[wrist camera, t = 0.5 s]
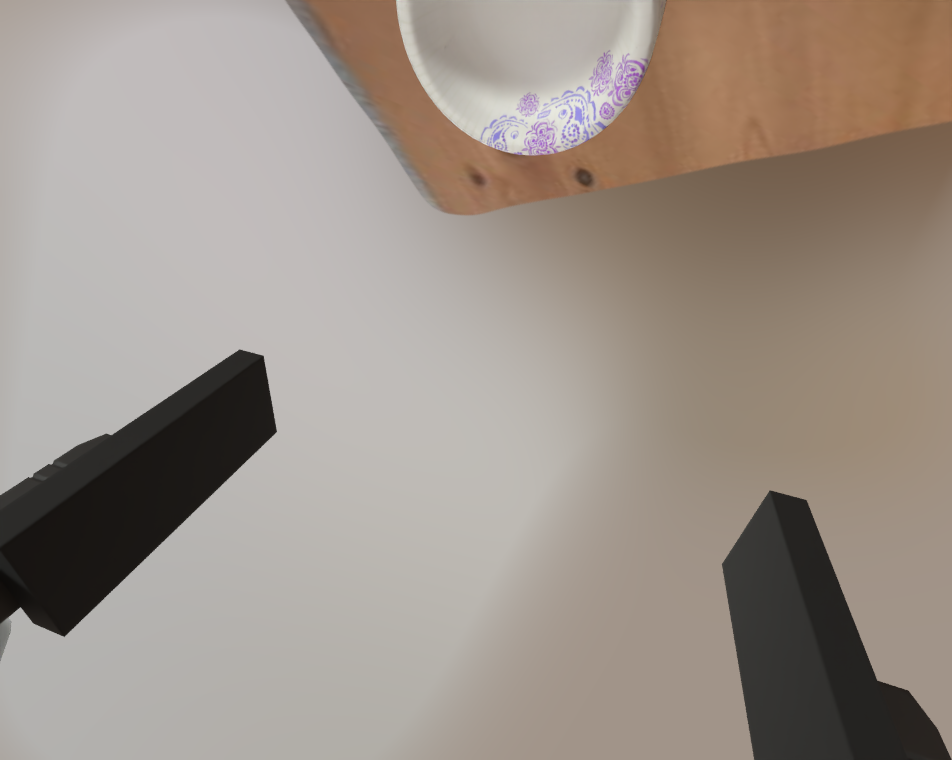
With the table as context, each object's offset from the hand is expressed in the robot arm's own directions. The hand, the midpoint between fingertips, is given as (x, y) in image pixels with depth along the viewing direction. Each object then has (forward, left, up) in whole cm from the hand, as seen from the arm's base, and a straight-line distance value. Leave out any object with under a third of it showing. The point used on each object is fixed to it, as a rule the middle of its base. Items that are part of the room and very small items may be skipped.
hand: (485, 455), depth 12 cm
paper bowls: (+1, -7, -33) cm, 34 cm away
